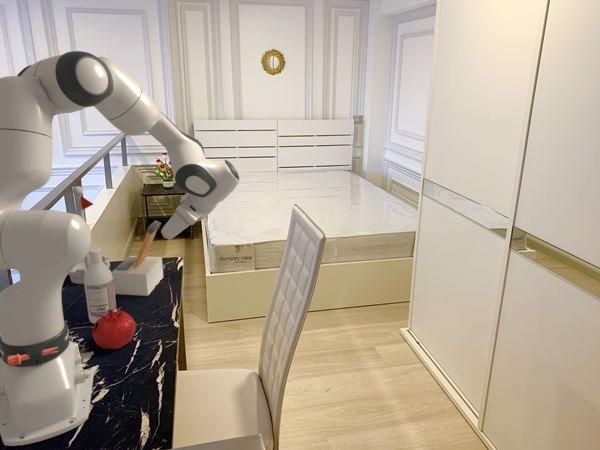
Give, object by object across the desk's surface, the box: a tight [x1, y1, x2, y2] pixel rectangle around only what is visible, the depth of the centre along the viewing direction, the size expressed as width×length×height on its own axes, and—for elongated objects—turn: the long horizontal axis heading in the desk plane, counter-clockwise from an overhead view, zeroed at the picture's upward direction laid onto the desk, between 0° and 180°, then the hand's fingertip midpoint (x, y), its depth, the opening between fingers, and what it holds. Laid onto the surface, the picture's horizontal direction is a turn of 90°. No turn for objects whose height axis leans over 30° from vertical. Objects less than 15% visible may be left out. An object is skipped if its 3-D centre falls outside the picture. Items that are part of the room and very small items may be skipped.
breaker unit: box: [111, 255, 164, 297], centre depth 141 cm, size 10×13×8 cm
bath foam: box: [83, 247, 118, 324], centre depth 119 cm, size 7×7×20 cm
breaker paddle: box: [133, 220, 162, 268], centre depth 137 cm, size 2×6×14 cm, turn 177°
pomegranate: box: [91, 308, 137, 350], centre depth 111 cm, size 10×10×9 cm
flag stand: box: [67, 185, 111, 285], centre depth 142 cm, size 13×13×30 cm
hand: (165, 235), depth 136 cm, fingers closed
